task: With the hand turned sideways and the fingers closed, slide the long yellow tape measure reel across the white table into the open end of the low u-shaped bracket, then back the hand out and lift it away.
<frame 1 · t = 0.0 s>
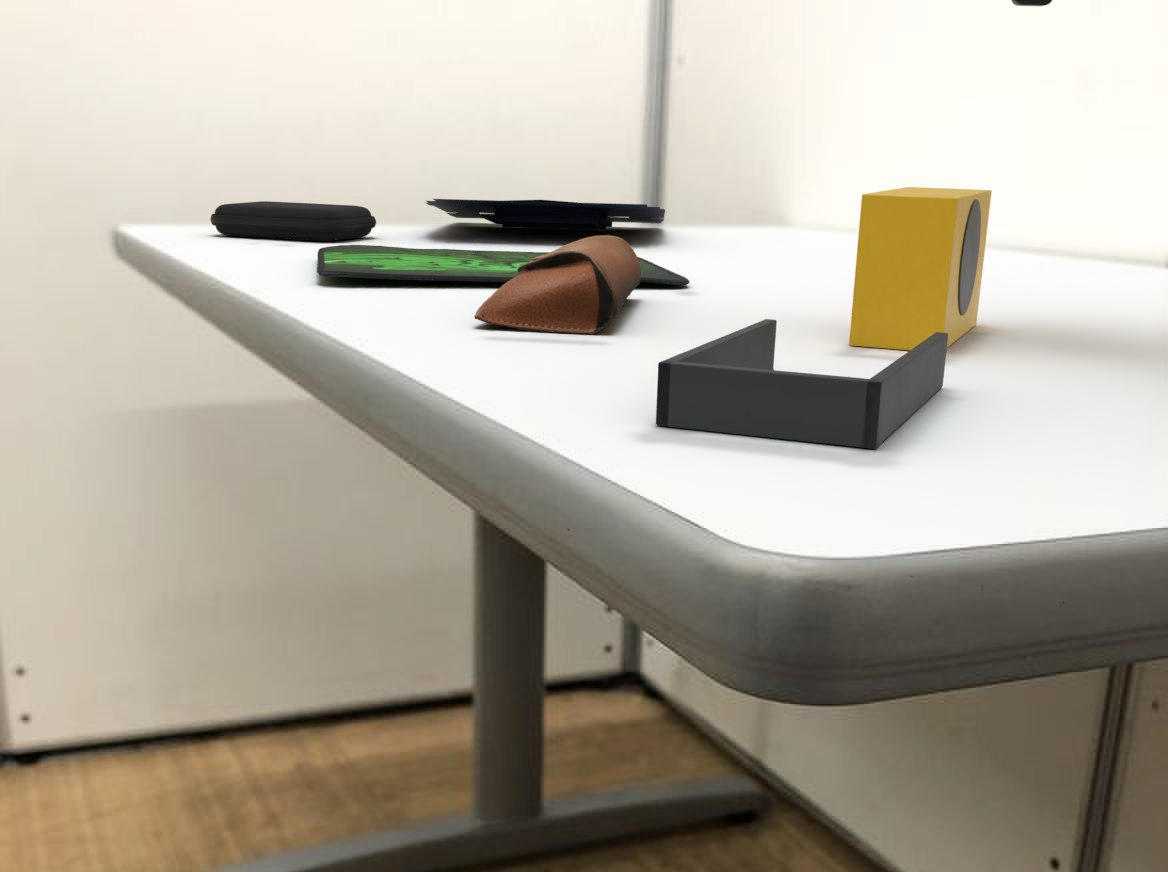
tape measure: (916, 334, 82), on the table
u-shaped bracket: (812, 403, 61), on the table
black angular plate: (549, 236, 149), on the table
mouse mat: (494, 273, 110), on the table
carrying case: (297, 238, 139), on the table
sunglasses case: (564, 315, 88), on the table
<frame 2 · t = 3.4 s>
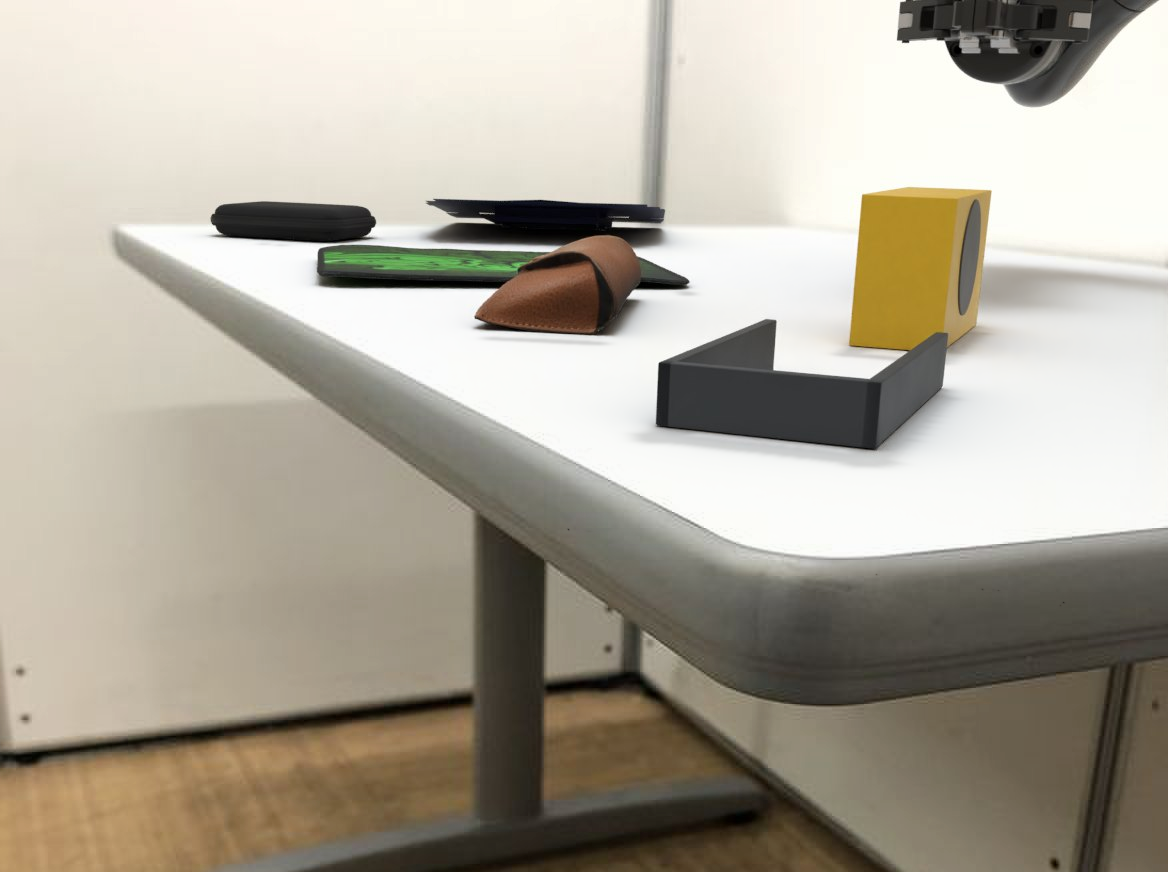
hand: (973, 12, 85), 18 cm above the table, tool horizontal, fingers closed
nothing on the table moved.
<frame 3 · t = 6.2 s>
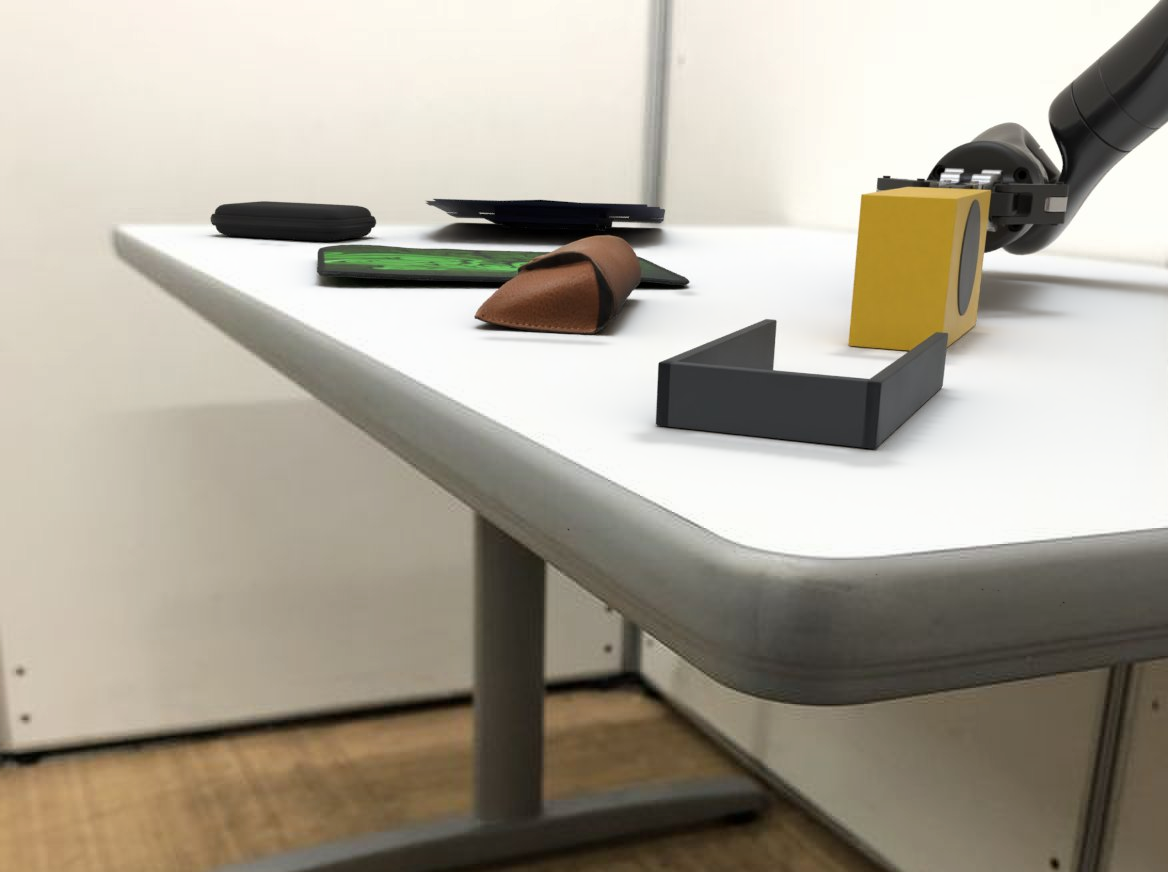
hand: (947, 205, 85), 7 cm above the table, tool horizontal, fingers closed
tape measure: (915, 334, 82), on the table, touching gripper
everything else where it was.
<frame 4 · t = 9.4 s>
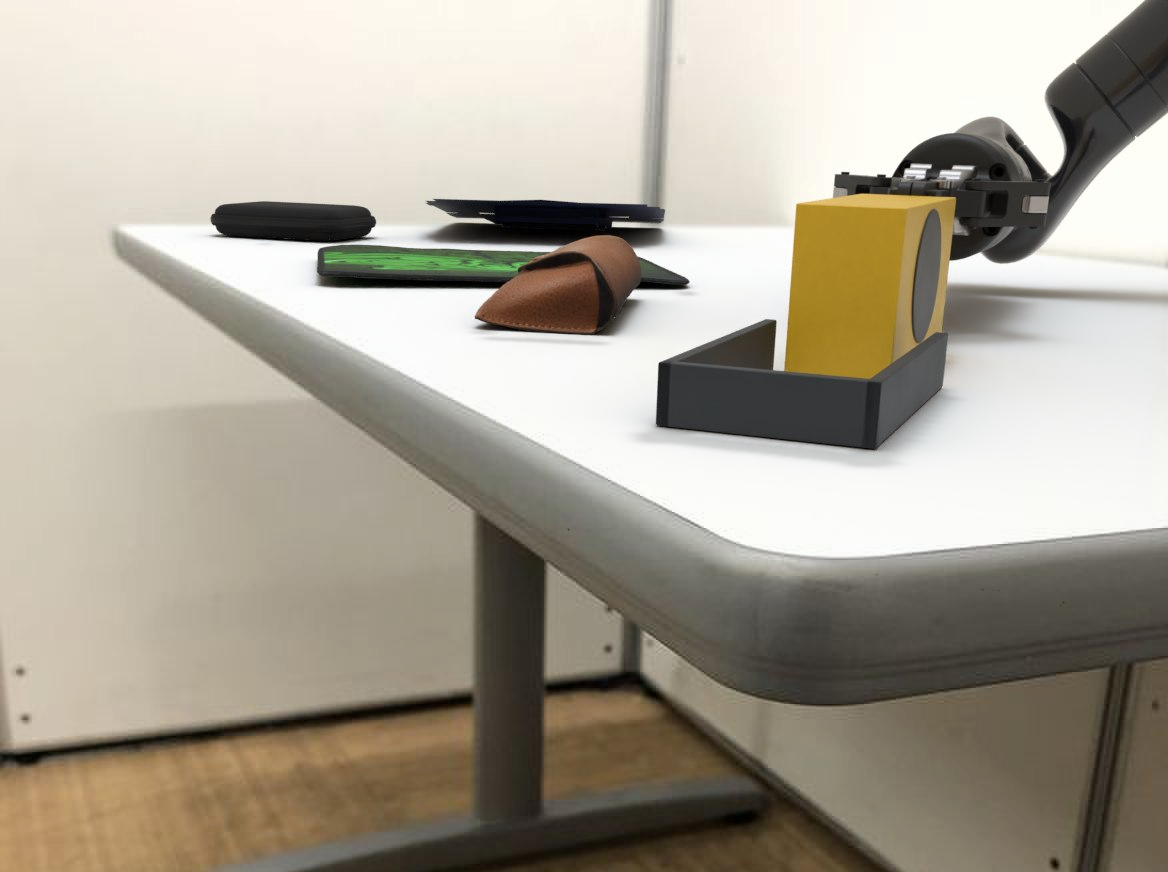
hand: (908, 204, 74), 8 cm above the table, tool horizontal, fingers closed
tape measure: (866, 364, 71), on the table, touching gripper
everything else where it was.
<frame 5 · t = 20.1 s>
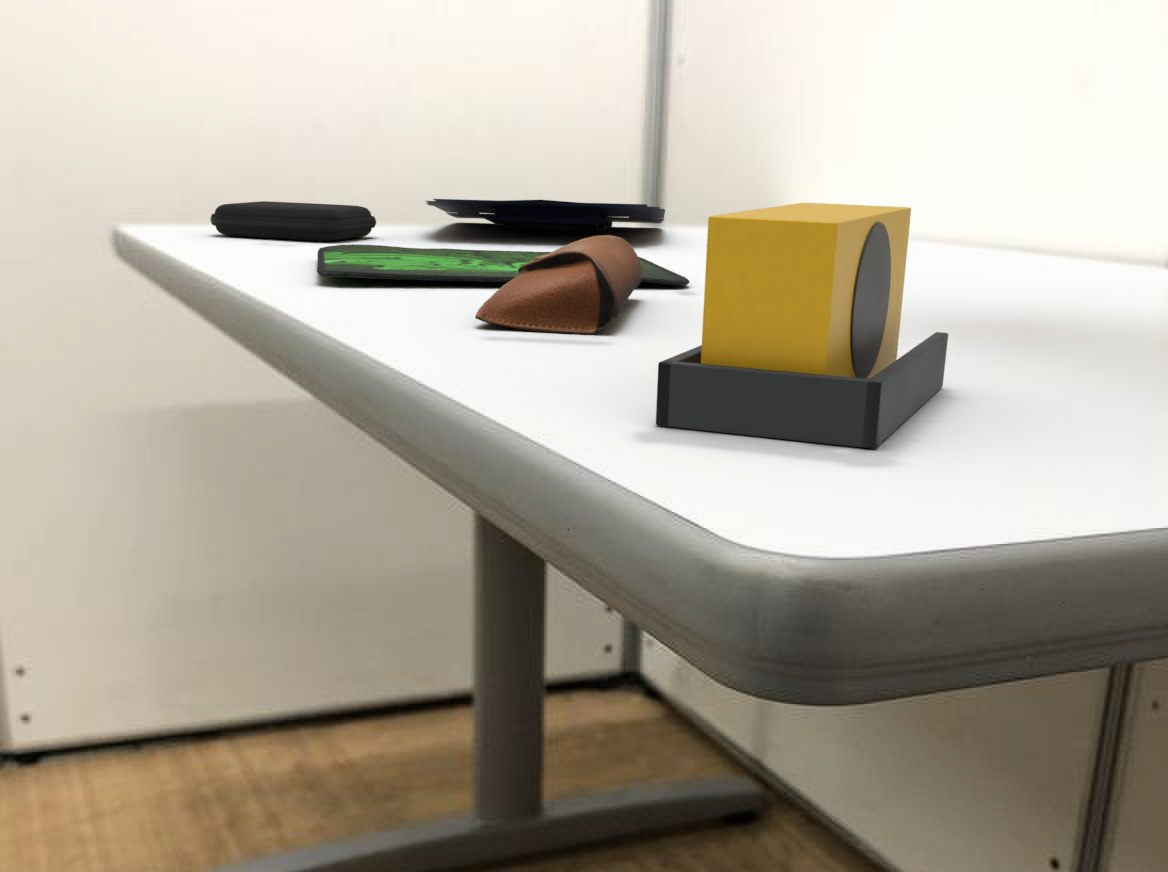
tape measure: (803, 404, 61), resting in u-shaped bracket
everything else where it was.
at the end: tape measure 0.8 cm off-centre on the u-shaped bracket, point 0.0 cm above the u-shaped bracket's base; tape measure tilted 0° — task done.
